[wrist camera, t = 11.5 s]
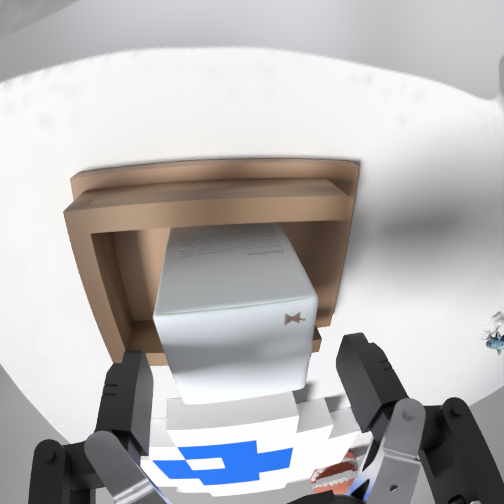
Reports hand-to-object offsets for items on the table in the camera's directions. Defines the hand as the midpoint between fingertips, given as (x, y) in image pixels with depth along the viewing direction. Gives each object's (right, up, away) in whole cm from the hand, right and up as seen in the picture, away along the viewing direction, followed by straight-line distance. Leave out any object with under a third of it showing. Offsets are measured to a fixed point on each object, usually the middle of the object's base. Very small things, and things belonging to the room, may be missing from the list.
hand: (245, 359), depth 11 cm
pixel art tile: (-1, -21, +23) cm, 31 cm away
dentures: (+14, -31, +31) cm, 46 cm away
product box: (-1, +3, +7) cm, 8 cm away
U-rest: (-2, +4, +7) cm, 9 cm away
